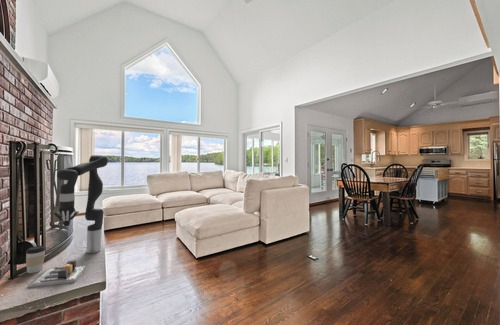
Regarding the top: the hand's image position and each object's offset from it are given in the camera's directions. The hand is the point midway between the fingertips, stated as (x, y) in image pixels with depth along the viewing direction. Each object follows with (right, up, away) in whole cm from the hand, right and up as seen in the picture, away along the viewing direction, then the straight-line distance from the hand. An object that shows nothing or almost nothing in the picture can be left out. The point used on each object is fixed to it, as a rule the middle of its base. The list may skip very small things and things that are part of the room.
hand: (66, 226), depth 141 cm
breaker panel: (+4, -28, -10) cm, 30 cm away
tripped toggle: (+8, -26, -9) cm, 29 cm away
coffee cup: (-17, -27, -4) cm, 32 cm away
